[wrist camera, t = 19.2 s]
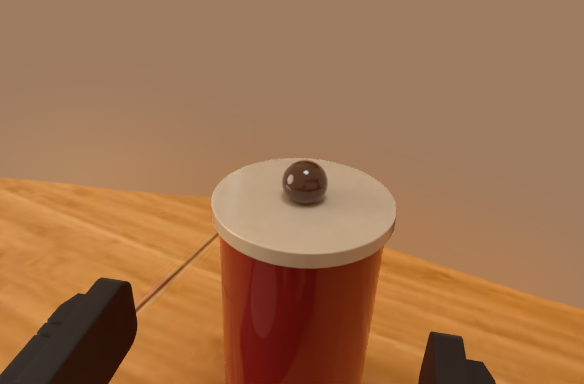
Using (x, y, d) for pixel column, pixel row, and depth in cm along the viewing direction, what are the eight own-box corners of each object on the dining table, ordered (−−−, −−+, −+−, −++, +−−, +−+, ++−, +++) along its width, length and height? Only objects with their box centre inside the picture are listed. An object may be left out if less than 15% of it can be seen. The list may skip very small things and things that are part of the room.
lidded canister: (354, 493, 20) (404, 227, 14) (201, 461, 21) (179, 197, 14) (369, 295, 30) (401, 90, 24) (266, 279, 31) (270, 78, 25)
